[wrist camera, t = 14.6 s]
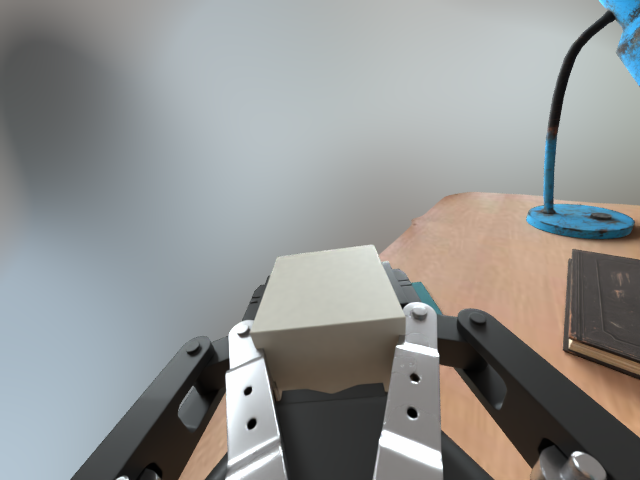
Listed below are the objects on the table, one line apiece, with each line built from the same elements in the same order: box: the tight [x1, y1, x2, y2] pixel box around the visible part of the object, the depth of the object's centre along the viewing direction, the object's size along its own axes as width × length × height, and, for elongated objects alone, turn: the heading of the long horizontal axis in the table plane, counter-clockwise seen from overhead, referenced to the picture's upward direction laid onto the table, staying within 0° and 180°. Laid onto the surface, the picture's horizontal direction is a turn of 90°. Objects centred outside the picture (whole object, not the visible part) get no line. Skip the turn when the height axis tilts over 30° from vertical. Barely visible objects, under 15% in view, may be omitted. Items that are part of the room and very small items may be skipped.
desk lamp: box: [526, 0, 640, 239], centre depth 40 cm, size 16×22×45 cm
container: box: [250, 245, 406, 398], centre depth 12 cm, size 6×6×9 cm
